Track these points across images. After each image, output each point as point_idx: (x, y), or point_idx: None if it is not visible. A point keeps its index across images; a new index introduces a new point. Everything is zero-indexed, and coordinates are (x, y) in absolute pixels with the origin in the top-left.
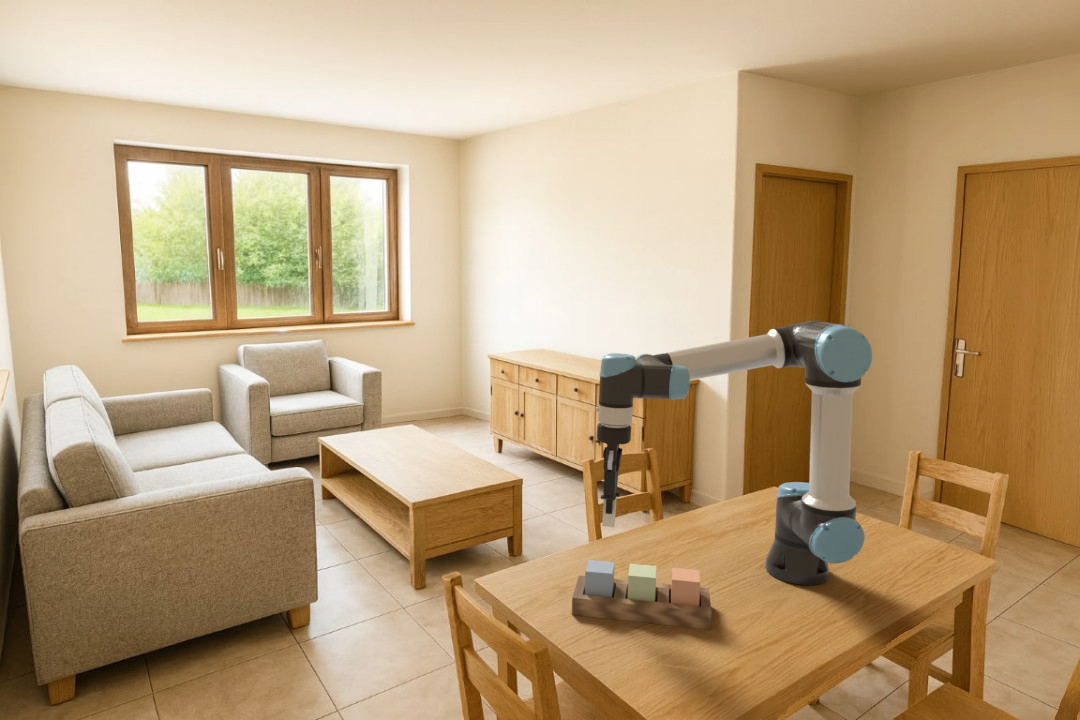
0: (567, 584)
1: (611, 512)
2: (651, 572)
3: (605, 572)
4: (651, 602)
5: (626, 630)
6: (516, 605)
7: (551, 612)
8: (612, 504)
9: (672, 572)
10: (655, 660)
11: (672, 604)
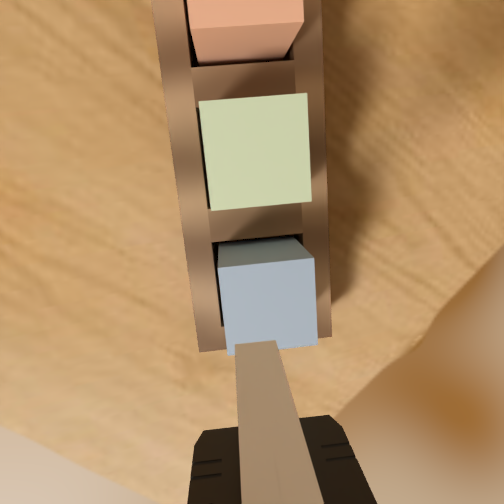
0: (169, 363)
1: (341, 428)
2: (262, 116)
3: (309, 282)
4: None
5: (354, 179)
6: None
7: (315, 359)
8: (339, 483)
9: (236, 24)
10: (470, 91)
11: (298, 46)
